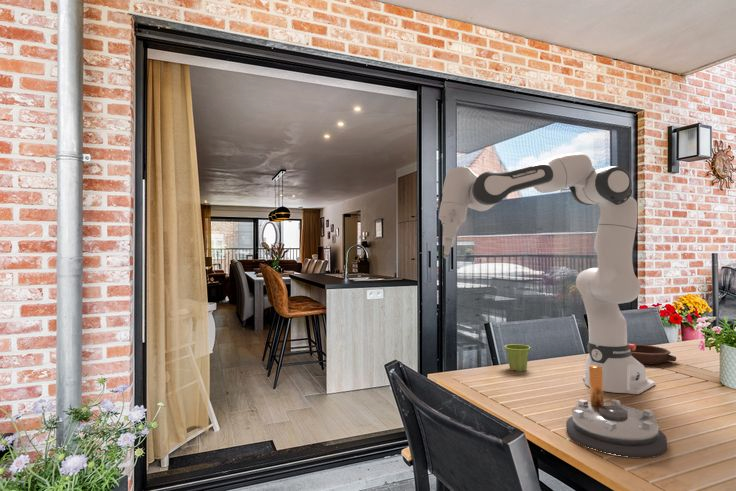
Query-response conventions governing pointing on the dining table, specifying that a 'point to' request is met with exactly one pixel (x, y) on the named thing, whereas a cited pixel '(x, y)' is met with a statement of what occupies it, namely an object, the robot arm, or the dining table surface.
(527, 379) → the dining table surface
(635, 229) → the robot arm
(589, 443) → the base plate
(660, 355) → the dish
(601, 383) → the round lugged disc
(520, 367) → the plant pot
